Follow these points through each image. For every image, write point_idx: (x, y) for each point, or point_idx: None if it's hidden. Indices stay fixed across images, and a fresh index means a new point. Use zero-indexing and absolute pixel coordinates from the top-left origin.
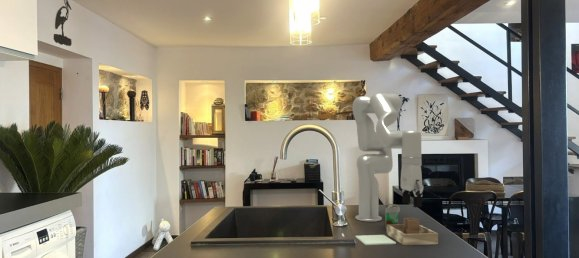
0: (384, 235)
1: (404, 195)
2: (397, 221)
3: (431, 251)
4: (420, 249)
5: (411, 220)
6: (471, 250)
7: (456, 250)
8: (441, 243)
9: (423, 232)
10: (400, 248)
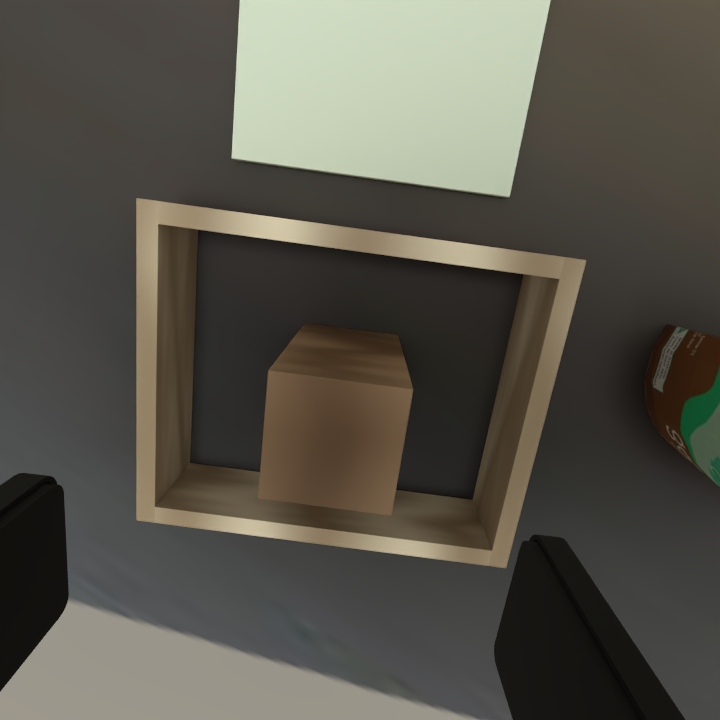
0: (485, 189)
1: (599, 715)
2: (705, 472)
3: (2, 317)
4: (59, 269)
5: (267, 406)
6: None
7: None
8: None
9: None
10: (102, 121)
